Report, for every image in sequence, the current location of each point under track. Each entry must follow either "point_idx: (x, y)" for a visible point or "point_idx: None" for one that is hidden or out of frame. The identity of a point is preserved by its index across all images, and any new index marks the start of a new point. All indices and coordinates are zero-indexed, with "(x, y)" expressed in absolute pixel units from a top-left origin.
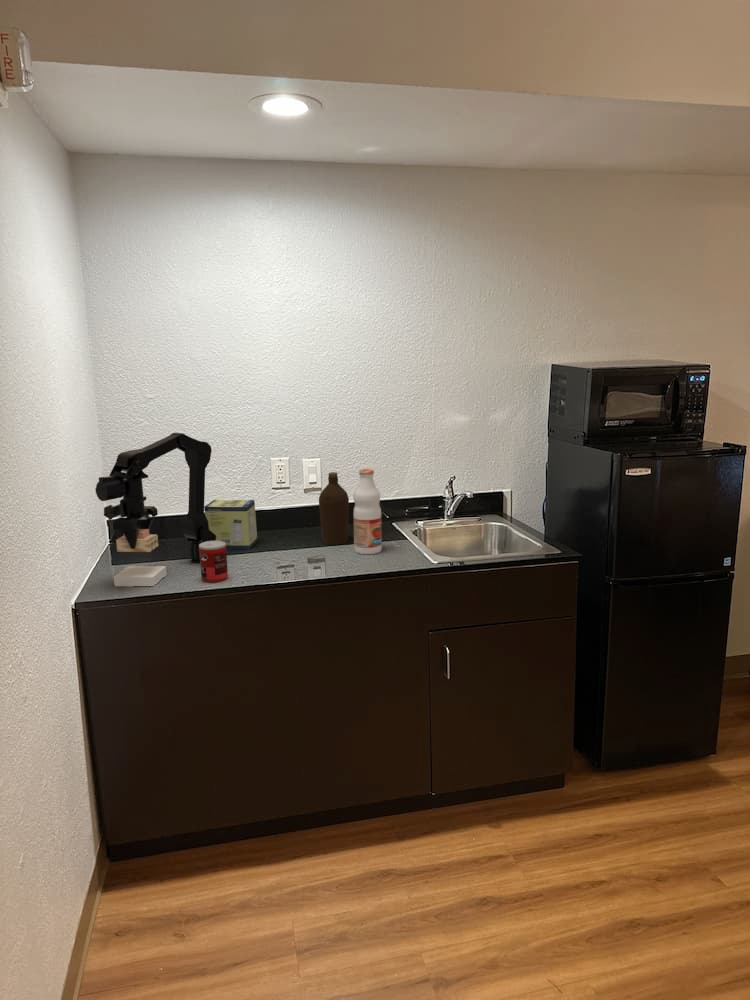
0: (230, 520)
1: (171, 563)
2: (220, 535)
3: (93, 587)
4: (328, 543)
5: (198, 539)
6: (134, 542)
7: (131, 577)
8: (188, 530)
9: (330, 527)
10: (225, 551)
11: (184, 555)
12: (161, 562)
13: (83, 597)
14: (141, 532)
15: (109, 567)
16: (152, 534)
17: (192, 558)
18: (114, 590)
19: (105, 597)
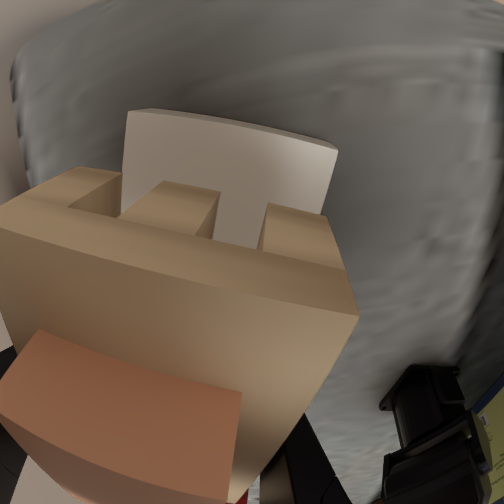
0: None
1: (437, 307)
2: (491, 432)
3: (152, 11)
4: (379, 500)
5: (392, 468)
6: None
7: (121, 212)
8: (415, 489)
9: None
10: None
11: (495, 329)
12: (468, 268)
13: (46, 38)
14: (72, 494)
15: (469, 34)
16: (238, 495)
17: (424, 374)
18: (100, 128)
19: (37, 125)
